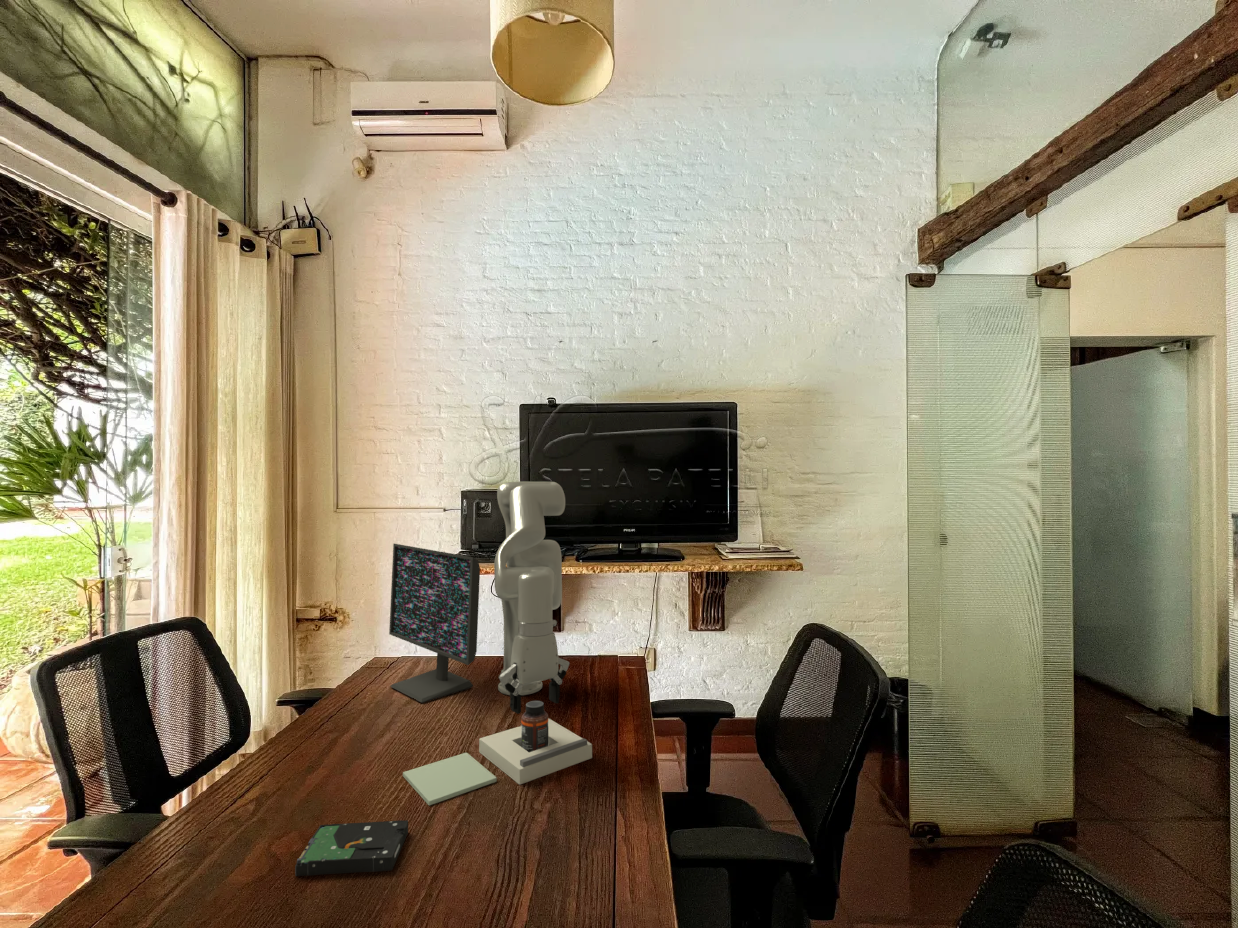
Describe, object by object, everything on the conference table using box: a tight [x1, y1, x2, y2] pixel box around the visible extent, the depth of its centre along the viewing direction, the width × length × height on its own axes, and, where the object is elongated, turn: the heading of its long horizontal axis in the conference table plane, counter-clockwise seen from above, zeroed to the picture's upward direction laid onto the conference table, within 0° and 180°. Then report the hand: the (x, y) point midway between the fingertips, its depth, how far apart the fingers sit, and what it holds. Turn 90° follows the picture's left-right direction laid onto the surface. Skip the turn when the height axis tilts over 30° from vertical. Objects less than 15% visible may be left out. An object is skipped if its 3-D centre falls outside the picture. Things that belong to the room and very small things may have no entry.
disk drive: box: [294, 820, 409, 877], centre depth 99 cm, size 10×3×15 cm
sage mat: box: [402, 752, 498, 806], centre depth 123 cm, size 14×14×1 cm
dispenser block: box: [478, 717, 593, 785], centre depth 134 cm, size 18×18×4 cm
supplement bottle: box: [520, 700, 549, 752], centre depth 134 cm, size 6×6×11 cm
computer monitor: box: [388, 543, 481, 704], centre depth 175 cm, size 44×16×40 cm, turn 47°
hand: (535, 706), depth 133 cm, fingers open, 9 cm apart
